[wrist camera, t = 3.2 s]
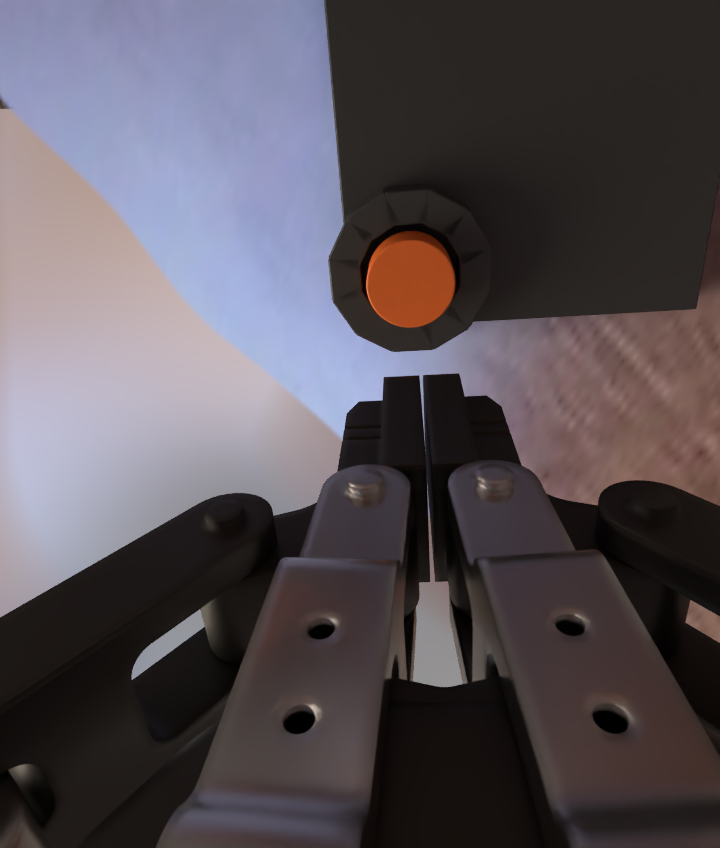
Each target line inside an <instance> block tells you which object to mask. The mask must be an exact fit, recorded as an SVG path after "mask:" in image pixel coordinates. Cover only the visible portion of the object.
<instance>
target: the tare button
mask: <svg viewBox="0 0 720 848" xmlns="http://www.w3.org/2000/svg"><path fill="white" fill-rule="evenodd" d="M455 284H456V280H455V273H454V269H453V266H452V263H451V260H450V257H449V255H448V253H447V251H446V249H445V248H444V247H443V245H442V244H441V243H440V242H439V241H438V240H436V239H435V238H434V237H432V236H430V235H428V234H426V233H423V232H419V231H403V232H399V233H396V234H394V235H392V236H390V237H388V238H387V239H385V240H384V241H383V242H382V243H381V244H380V245H379V246H378V247H377V248H376V250H375V251H374V253H373V255H372V257H371V260H370V263H369V268H368V273H367V280H366V289H367V295H368V298H369V301H370V303H371V305H372V307H373V308H374V310H375V311H376V312H377V313H378V314H379V315H380V316H381V317H382V318H383V319H384V320H386V321H388V322H389V323H391V324H394V325H396V326H400V327H410V328H413V327H419V326H423V325H426V324H429V323H431V322H432V321H434V320H436V319H437V318H438V317H440V316H441V315H442V314H443V313H444V312H445V310H446V309H447V308H448V306H449V305H450V303H451V301H452V299H453V296H454V292H455Z"/></svg>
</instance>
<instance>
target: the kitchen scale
mask: <svg viewBox="0 0 720 848" xmlns="http://www.w3.org/2000/svg"><path fill="white" fill-rule="evenodd" d="M324 1H325V13H326V25H327V36H328V48H329V60H330V71H331V83H332V94H333V106H334V118H335V129H336V141H337V153H338V164H339V176H340V188H341V199H342V211H343V223H344V225H343V227H342V229H341V231H340V234H339V236H338V238H337V240H336V242H335V245H334V247H333V249H332V251H331V254H330V256H329V260H328V262H329V272H330V282H331V292H332V300H333V303H334V304H335V306H336V307H337V308H338V310H339V311H340V313H341V314H342V315H343V317H344V318H345V320H346V321H347V323H348V324H349V325H350V327H351V328H352V330H353V331H354V332H355V334H357V335H358V336H360V337H362V338H364V339H366V340H368V341H371V342H373V343H375V344H377V345H379V346H381V347H383V348H385V349H387V350H389V351H393V352H400V351H419V350H432V349H436V348H437V347H439V346H441V345H442V344H444V343H446V342H447V341H449V340H451V339H452V338H454V337H456V336H457V335H459V334H461V333H462V332H464V331H466V330H467V329H468V327H470V326H471V324H472V322H475V321H493V320H511V319H528V318H546V317H563V316H581V315H599V314H616V313H634V312H652V311H669V310H687V309H696V306H697V301H698V295H699V289H700V284H701V278H702V272H703V267H704V261H705V256H706V250H707V244H708V239H709V233H710V228H711V222H712V216H713V211H714V205H715V200H716V194H717V188H718V183H719V177H720V0H324ZM403 231H419V232H423V233H426V234H428V235H430V236H432V237H434V238H435V239H436V240H438V241H439V242H440V243H441V244H442V245H443V247H444V248H445V249H446V251H447V253H448V255H449V257H450V260H451V263H452V266H453V269H454V273H455V280H456V284H455V292H454V296H453V299H452V301H451V303H450V305H449V306H448V308H447V309H446V310H445V312H444V313H443V314H442V315H441V316H440V317H438V318H437V319H436V320H434V321H432V322H431V323H429V324H426V325H423V326H419V327H413V328H410V327H400V326H396V325H394V324H391V323H389V322H388V321H386V320H384V319H383V318H382V317H381V316H380V315H379V314H378V313H377V312H376V311H375V310H374V308H373V307H372V305H371V303H370V301H369V298H368V295H367V289H366V280H367V273H368V268H369V263H370V260H371V257H372V255H373V253H374V251H375V250H376V248H377V247H378V246H379V245H380V244H381V243H382V242H383V241H384V240H385V239H387V238H388V237H390V236H392V235H394V234H396V233H399V232H403Z"/></svg>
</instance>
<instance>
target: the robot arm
mask: <svg viewBox="0 0 720 848" xmlns="http://www.w3.org/2000/svg"><path fill="white" fill-rule="evenodd" d="M423 392H424V423H425V442H424V429H423V417H422V404H421V392H420V380H419V376H401V377H384V384H383V401H363V402H358V403H357V404H356V405H355V406H354V407H353V408H352V409H351V410H350V411H349V412H348V413H347V416H346V422H345V429H344V435H343V441H342V447H341V453H340V459H339V465H338V471H337V472H336V473H335V474H333V475H332V476H331V477H329V478H328V479H327V480H326V481H325V483H324V484H323V486H322V489H321V492H320V495H319V498H318V501H317V503H315V504H313V505H311V506H308V507H306V508H303V509H300V510H296V511H292V512H288V513H284V514H280V515H275V516H273V512H272V507H271V506H270V504H269V503H268V502H267V501H266V500H265V499H263V498H261V497H259V496H256V495H252V494H245V493H232V494H225V495H220V496H216V497H213V498H210V499H208V500H205V501H203V502H201V503H199V504H197V505H196V506H194V507H192V508H191V509H189V510H187V511H185V512H183V513H182V514H180V515H178V516H177V517H175V518H173V519H171V520H170V521H168V522H166V523H164V524H162V525H161V526H159V527H157V528H156V529H154V530H152V531H150V532H149V533H147V534H145V535H143V536H142V537H140V538H138V539H136V540H135V541H133V542H131V543H129V544H128V545H126V546H124V547H122V548H121V549H119V550H117V551H116V552H114V553H112V554H110V555H108V556H107V557H105V558H103V559H102V560H100V561H98V562H97V563H95V564H93V565H91V566H90V567H88V568H86V569H84V570H82V571H81V572H79V573H77V574H75V575H74V576H72V577H70V578H68V579H67V580H65V581H63V582H61V583H60V584H58V585H56V586H54V587H53V588H51V589H49V590H48V591H46V592H44V593H42V594H41V595H39V596H37V597H35V598H34V599H32V600H30V601H28V602H27V603H25V604H23V605H21V606H20V607H18V608H16V609H14V610H13V611H11V612H9V613H7V614H6V615H4V616H2V617H1V618H0V848H720V643H718V642H717V641H715V640H713V639H712V638H710V637H708V636H707V635H705V634H703V633H702V632H700V631H698V630H697V629H695V628H693V627H692V626H690V625H688V624H687V623H685V621H686V617H687V612H688V608H689V603H690V600H692V601H694V602H696V603H697V604H699V605H701V606H703V607H705V608H706V609H708V610H710V611H712V612H713V613H715V614H717V615H719V616H720V506H718V505H716V504H713V503H711V502H709V501H706V500H704V499H702V498H699V497H697V496H695V495H692V494H690V493H688V492H686V491H683V490H681V489H678V488H676V487H673V486H670V485H667V484H663V483H658V482H652V481H639V480H635V481H625V482H620V483H616V484H613V485H611V486H609V487H607V488H606V489H605V490H604V491H603V492H602V493H601V494H600V497H599V501H598V506H597V505H591V504H584V503H578V502H572V501H567V500H563V499H559V498H556V497H553V496H550V495H548V494H546V492H545V490H544V488H543V486H542V484H541V482H540V481H539V479H538V477H537V476H536V475H535V474H534V473H533V472H532V471H530V470H529V469H527V468H525V467H523V466H522V465H521V463H520V460H519V457H518V454H517V451H516V448H515V445H514V442H513V439H512V436H511V434H510V431H509V428H508V425H507V422H506V419H505V416H504V413H503V410H502V407H501V406H500V405H498V404H497V403H496V402H494V401H493V400H492V399H490V398H489V397H488V396H468V397H464V392H463V388H462V384H461V379H460V375H459V374H439V375H423ZM425 452H426V454H425ZM427 484H428V497H429V510H430V522H431V535H432V547H433V560H434V573H435V581H436V582H442V581H448V583H449V592H450V593H449V595H450V596H449V597H450V622H451V627H452V632H453V637H454V642H455V647H456V652H457V657H458V662H459V667H460V671H461V677H462V681H463V684H462V685H458V686H453V687H436V686H431V685H426V684H422V683H417V682H413V670H414V653H415V637H416V606H417V604H418V601H419V582H430V564H429V532H428V501H427ZM199 609H200V610H201V613H202V618H203V621H204V625H205V627H204V628H203V629H201V630H200V631H198V632H197V633H196V634H194V635H193V636H192V637H190V638H189V639H188V640H186V641H185V642H183V643H182V644H181V645H179V646H178V647H177V648H175V649H174V650H173V651H171V652H170V653H169V654H167V655H166V656H165V657H163V658H162V659H160V660H159V661H158V662H156V663H155V664H154V665H152V666H151V667H150V668H148V669H147V670H145V671H144V672H143V673H141V674H140V675H139V676H138V677H136V678H135V679H133V680H131V674H132V669H133V666H134V664H135V662H136V660H137V658H138V657H139V655H140V654H141V653H142V651H143V650H144V649H145V648H146V647H147V646H149V645H150V644H151V643H153V642H154V641H155V640H157V639H158V638H160V637H161V636H162V635H164V634H165V633H167V632H168V631H170V630H171V629H172V628H174V627H175V626H177V625H178V624H179V623H181V622H182V621H184V620H185V619H186V618H188V617H189V616H190V615H192V614H194V613H195V612H196V611H198V610H199Z"/></svg>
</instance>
